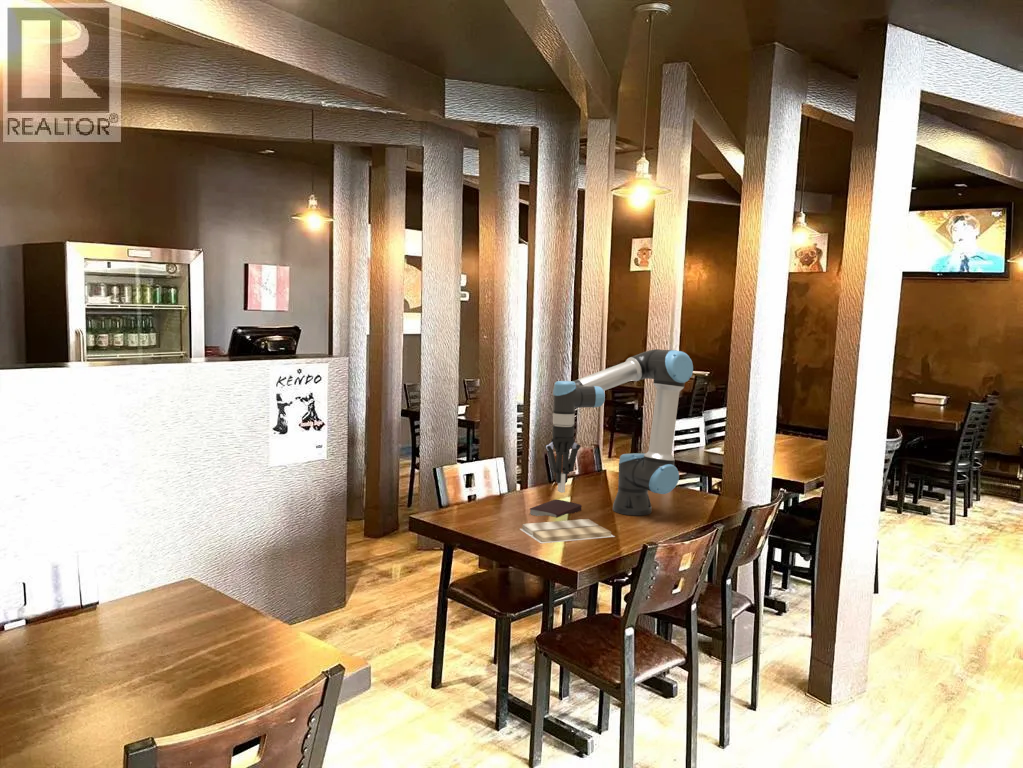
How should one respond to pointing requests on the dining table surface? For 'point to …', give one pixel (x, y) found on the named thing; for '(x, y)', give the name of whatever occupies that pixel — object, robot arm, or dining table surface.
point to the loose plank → (558, 525)
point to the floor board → (562, 540)
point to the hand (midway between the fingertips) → (561, 491)
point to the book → (555, 508)
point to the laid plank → (571, 534)
